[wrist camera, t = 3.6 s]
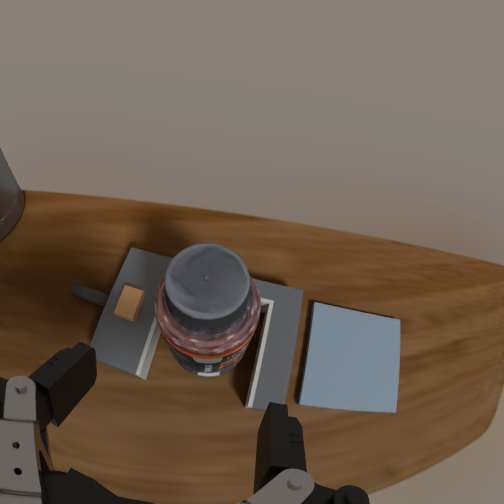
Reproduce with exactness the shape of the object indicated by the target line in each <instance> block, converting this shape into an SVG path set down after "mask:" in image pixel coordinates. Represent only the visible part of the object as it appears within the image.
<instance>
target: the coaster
mask: <svg viewBox="0 0 504 504" xmlns="http://www.w3.org/2000/svg"><path fill="white" fill-rule="evenodd" d="M399 363H400V320H398V319H393V318H388V317H383V316H378V315H373V314H368V313H363V312H359V311H354V310H349V309H344V308H340V307H335V306H330V305H326V304H321V303H317V302H314V304H313V306H312V314H311V321H310V329H309V336H308V343H307V350H306V356H305V363H304V369H303V375H302V381H301V387H300V393H299V399H298V404H297V405H304V406H311V407H319V408H328V409H338V410H348V411H362V412H380V413H395V412H396V406H397V395H398V382H399Z"/></svg>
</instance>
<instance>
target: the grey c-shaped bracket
mask: <svg viewBox="0 0 504 504" xmlns="http://www.w3.org/2000/svg"><path fill="white" fill-rule="evenodd" d="M172 259H173V258H170V257H167V256H163V255H159V254H155V253H152V252H148V251H144V250H141V249H137V248H133V247H131V249H130V251H129V254H128V256H127V258H126V260H125V262H124V264H123V266H122V268H121V271H120V273H119V275H118V277H117V279H116V282H115V284H114V286H113V289H112V291H111V293H110V295H109V294H106V293H103V292H101V291H98V290H95V289H92V288H90V287H87V286H84V285H81V284H79V283H75V284H74V285H73V288H72V295H73V296H75V297H78V298H80V299H83V300H85V301H88V302H90V303H93V304H96V305H98V306H101V307H104V310H103V312H102V315H101V317H100V320H99V322H98V325H97V327H96V330H95V333H94V335H93V338H92V341H91V343H90V347H93V348H94V349H95V351H96V361H98V362H101V363H103V364H105V365H108V366H110V367H113V368H115V369H118V370H120V371H123V372H125V373H128V374H131V375H133V376H136V377H139V378H142V379H144V380H146V378H147V375H148V372H149V368H150V365H151V362H152V359H153V356H154V352H155V349H156V346H157V343H158V340H159V337H160V334H161V330H160V328H159V326H158V323H157V320H156V316H155V310H154V299H155V293H156V290H157V287H158V285H159V283H160V281H161V279H162V278H163V276H164V275H165V273H166V269H167V267H168V265H169V263H170V261H171V260H172ZM252 279H253V278H252ZM253 281H254V283H255V284H256V286H257V289H258V291H259V295H260V298H261V312H262V313H265V315H264V320H263V325H262V330H261V334H260V339H259V344H258V349H257V353H256V358H255V363H254V367H253V372H252V376H251V381H250V385H249V390H248V394H247V399H246V403H245V408H250V409H255V410H260V411H266V409H267V406H268V404H269V402H274V403H279V404H285V401H286V396H287V391H288V385H289V380H290V374H291V368H292V363H293V357H294V351H295V345H296V339H297V332H298V326H299V319H300V312H301V305H302V298H303V290H299V289H295V288H290V287H286V286H282V285H278V284H274V283H269V282H265V281H261V280H257V279H253Z"/></svg>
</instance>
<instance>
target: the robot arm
mask: <svg viewBox="0 0 504 504" xmlns="http://www.w3.org/2000/svg"><path fill="white" fill-rule="evenodd" d="M24 204H25V198H24V194H23V192H22V191H21V189H20V187H19V185H18V183H17V181H16V179H15V178H14V176H13V174H12V172H11V170H10V168H9V166H8V163H7V161H6V159H5V157H4V155H3V153H2V151H1V149H0V240H1V239H2V238H4V237H5V236H6V235H7V234H8V233H9V232H10V231H11V230H12V229H13V227H14V226H15V224H16V223H17V222H18V220H19V218H20V216H21V214H22V211H23V209H24ZM96 376H97V370H96V351H95V349H94V348H93V347H90V346H88V345H86V344H84V343H81V342H79V343H78V344H77V345H75V346H74V347H73V348H72V349H70V348H66V349H64V350H61V351H59V352H57V353H56V354H55V355H54V356H53V357H52V358H50V359H49V360H48V361H47V362H45V363H44V364H43V365H42V366H41V367H40V368H38V369H37V370H36V371H35V372H34V373H33V374H31V375H30V376H29V377H28V378H27V377H24V376H16V377H13V378H11V379H10V380H7V379H4V378H1V377H0V504H153V503H150V502H146V501H139V500H133V499H127V498H122V497H118V496H116V495H115V494H113V493H112V492H111V491H109V490H108V489H106V488H105V487H103V486H102V485H101V484H99V483H98V482H97V481H95V480H94V479H92V478H90V477H88V476H86V475H84V474H82V473H80V472H78V471H76V470H74V469H72V468H70V470H69V471H68V473H66V472H61V471H55V470H54V467H53V464H52V459H51V453H50V446H49V438H48V429H47V425H48V424H49V423H50V422H51V423H52V424H54V425H56V426H57V427H59V425H60V424H61V423H62V422H63V421H64V419H65V418H66V417H67V416H68V415H69V413H70V412H71V411H72V410H73V409H74V407H75V406H76V405H77V404H78V403H79V401H80V400H81V399H82V398H83V397H84V396H85V394H86V393H87V392H88V391H89V390H90V388H91V387H92V386H93V385H94V383H95V380H96ZM303 443H304V440H303V431H302V426H301V424H300V422H299V421H298V419H297V418H296V417H289V416H288V408H287V405H285V404H279V403H274V402H269V404H268V406H267V409H266V412H265V414H264V417H263V419H262V422H261V424H260V427H259V431H258V437H257V451H256V466H255V480H254V493H253V496H251V497H250V498H249V499H247V500H246V501H240V502H238V503H237V504H370V503H369V498H368V495H367V494H366V492H365V491H364V490H362V489H361V488H359V487H357V486H352V485H347V486H343V487H341V488H339V489H338V490H334V489H330V488H327V487H323V486H320V485H318V484H316V483H315V482H314V481H313V479H312V477H311V476H310V475H309V474H308V473H307V470H306V460H305V450H304V444H303Z"/></svg>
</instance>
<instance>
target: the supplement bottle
mask: <svg viewBox="0 0 504 504" xmlns="http://www.w3.org/2000/svg"><path fill="white" fill-rule="evenodd" d="M154 310H155V316H156V320H157V323H158V326H159V328H160V330H161V333H162V334H163V337H164V338H165V340H166V342H167V344H168V346H169V348H170V350H171V352H172V354H173V355H174V357H175V359H176V360H177V361H178V363H179V364H180V365H181V366H182V367H183V368H184V369H186V370H187V371H189V372H190V373H192V374H195V375H198V376H202V377H215V376H219V375H223V374H225V373H227V372H228V371H230V370H231V369H233V368H234V367H235V366H236V365H237V364H238V362H240V360H241V359H242V357H243V355H244V353H245V351H246V349H247V346H248V344H249V342H250V340H251V338H252V336H253V334H254V332H255V329H256V327H257V325H258V322H259V319H260V313H261V298H260V295H259V291H258V289H257V286H256V284H255V283H254V281H253V279H252V278H251V276H250V275H249V272H248V269H247V266H246V264H245V263H244V261H243V260H242V259H241V257H240V256H239V255H237V254H236V253H235V252H233V251H232V250H230V249H228V248H227V247H225V246H221V245H218V244H213V243H201V244H195V245H192V246H190V247H187V248H185V249H183V250H182V251H180V252H179V253H178V254H176V255H175V257H174V258H173V259H172V260H171V261H170V263H169V265H168V267H167V269H166V273H165V275H164V276H163V278H162V279H161V281H160V283H159V285H158V287H157V290H156V293H155V299H154Z"/></svg>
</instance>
